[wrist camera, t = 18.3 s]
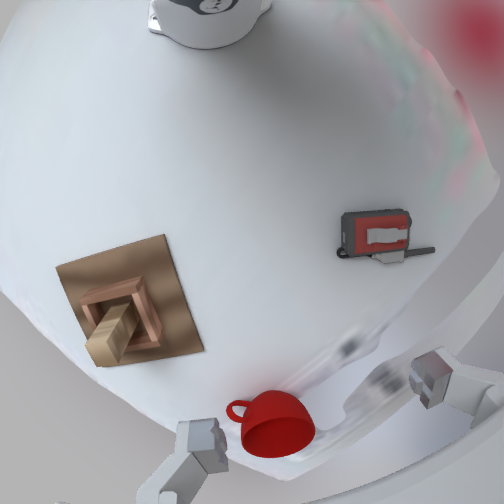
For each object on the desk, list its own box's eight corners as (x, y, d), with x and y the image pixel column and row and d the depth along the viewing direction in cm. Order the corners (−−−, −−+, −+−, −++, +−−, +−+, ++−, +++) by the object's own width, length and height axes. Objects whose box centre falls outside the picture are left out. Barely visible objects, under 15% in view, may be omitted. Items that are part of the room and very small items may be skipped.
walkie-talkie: (333, 266, 45) (429, 253, 47) (344, 276, 41) (444, 260, 42) (333, 211, 43) (432, 206, 44) (344, 216, 39) (448, 210, 40)
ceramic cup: (247, 359, 48) (252, 398, 39) (316, 392, 52) (330, 427, 43) (207, 401, 50) (206, 440, 41) (275, 428, 54) (283, 463, 45)
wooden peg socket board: (58, 265, 40) (43, 276, 36) (164, 233, 41) (156, 242, 36) (104, 364, 46) (95, 380, 42) (203, 347, 47) (202, 365, 42)
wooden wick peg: (113, 304, 42) (84, 345, 31) (131, 299, 42) (106, 341, 31) (121, 323, 43) (96, 367, 32) (139, 319, 43) (118, 364, 32)
